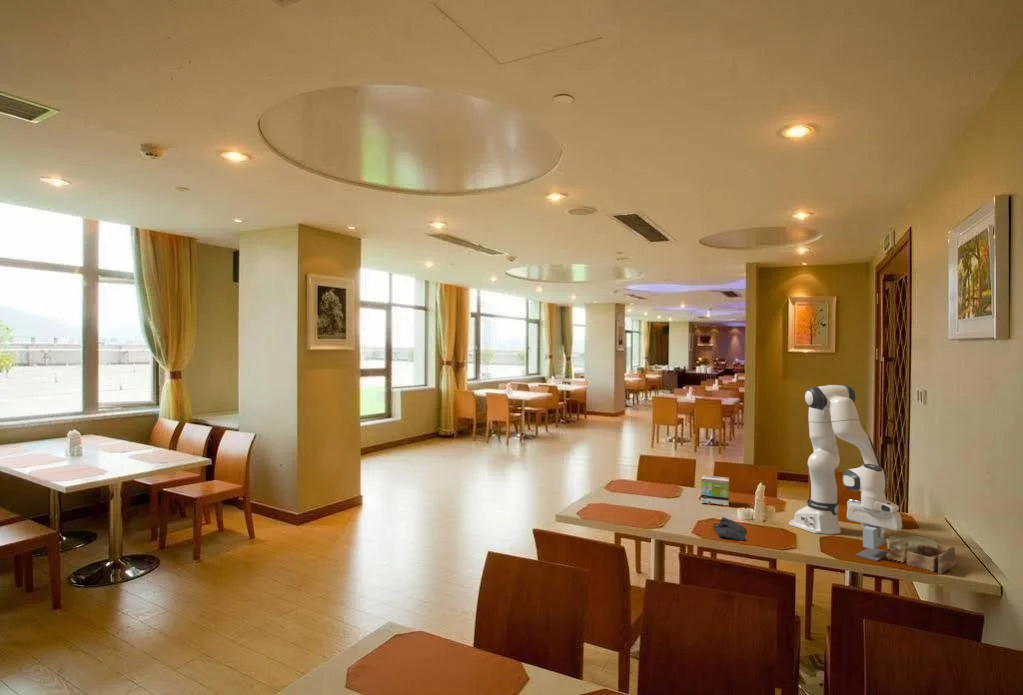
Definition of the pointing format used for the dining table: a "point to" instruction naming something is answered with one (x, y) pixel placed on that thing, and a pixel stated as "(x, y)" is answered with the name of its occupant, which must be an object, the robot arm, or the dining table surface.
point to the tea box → (715, 490)
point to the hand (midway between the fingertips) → (873, 535)
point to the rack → (932, 558)
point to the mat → (872, 554)
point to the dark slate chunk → (730, 529)
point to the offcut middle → (898, 552)
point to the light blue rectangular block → (872, 537)
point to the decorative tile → (912, 541)
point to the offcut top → (899, 544)
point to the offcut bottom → (896, 557)
